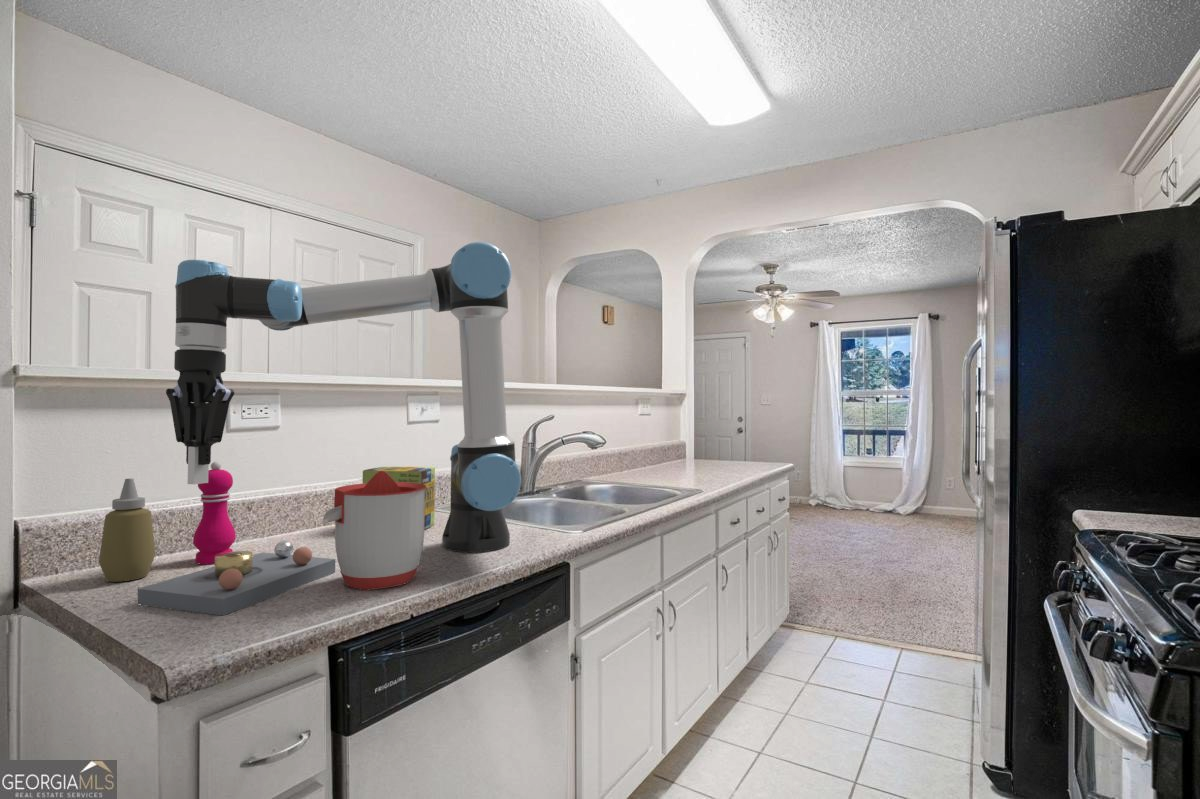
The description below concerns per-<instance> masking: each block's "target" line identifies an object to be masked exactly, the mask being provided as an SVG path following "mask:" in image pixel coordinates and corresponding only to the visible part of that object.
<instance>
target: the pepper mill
mask: <svg viewBox="0 0 1200 799" xmlns="http://www.w3.org/2000/svg"><path fill="white" fill-rule="evenodd" d="M221 467H222V464H221V462H219V461H213V462H212V463H210V469H209V471H208V483H201V484H197V487H198V489H199V491H201V492H202V494H200V498H201V499H200V502H202V507H203V508H202V515H201V519H200V521H199V523H198V525H197V528H196V530H195V531H194V534H193V540H192V542H193V543H192V544H193V546H194V547H195V548H196V549H197V550H198V552H196V553H195V564H198V563H200V564H199V565H213V564H212V563H215V556H216V555H219V554H222V553H227V552H233V549H232V548H231V547H232V546H233V544H234V543H235V542H236V539H237V535H236V530H235V527H234V525H233V524H232V521H231V520H230V517H229V513H228V501H229V500H230V499H231V498H230V495H231V492H229V491H230V489H231V488H232V487H233V484H234V479H233V475H232V474H231V472H229V471H227V470H225V469H221Z"/></svg>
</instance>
